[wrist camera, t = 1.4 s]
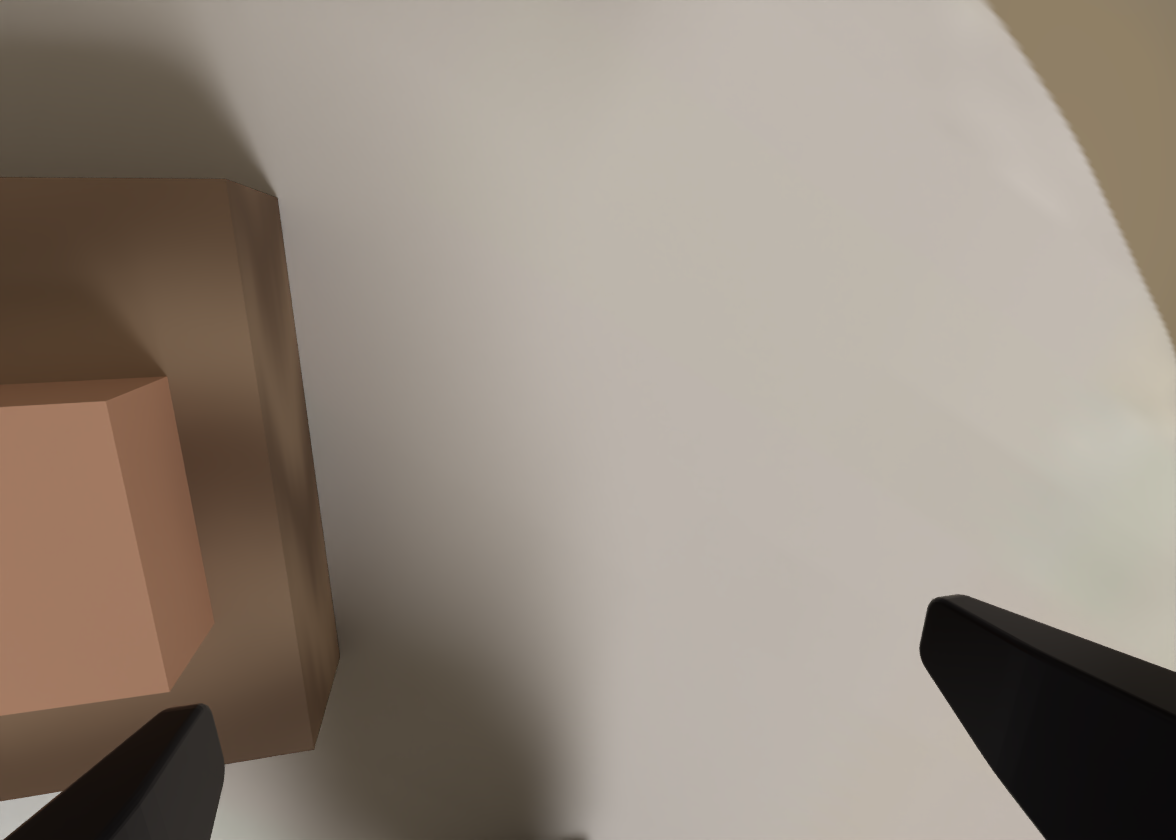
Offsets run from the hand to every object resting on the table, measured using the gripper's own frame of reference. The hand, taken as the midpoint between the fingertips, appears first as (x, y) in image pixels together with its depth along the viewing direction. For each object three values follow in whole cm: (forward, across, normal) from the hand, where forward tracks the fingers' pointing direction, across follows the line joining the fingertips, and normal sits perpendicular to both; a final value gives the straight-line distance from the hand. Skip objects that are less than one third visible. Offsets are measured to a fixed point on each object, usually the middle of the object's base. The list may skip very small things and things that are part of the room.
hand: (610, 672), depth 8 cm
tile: (+8, +10, +1) cm, 13 cm away
